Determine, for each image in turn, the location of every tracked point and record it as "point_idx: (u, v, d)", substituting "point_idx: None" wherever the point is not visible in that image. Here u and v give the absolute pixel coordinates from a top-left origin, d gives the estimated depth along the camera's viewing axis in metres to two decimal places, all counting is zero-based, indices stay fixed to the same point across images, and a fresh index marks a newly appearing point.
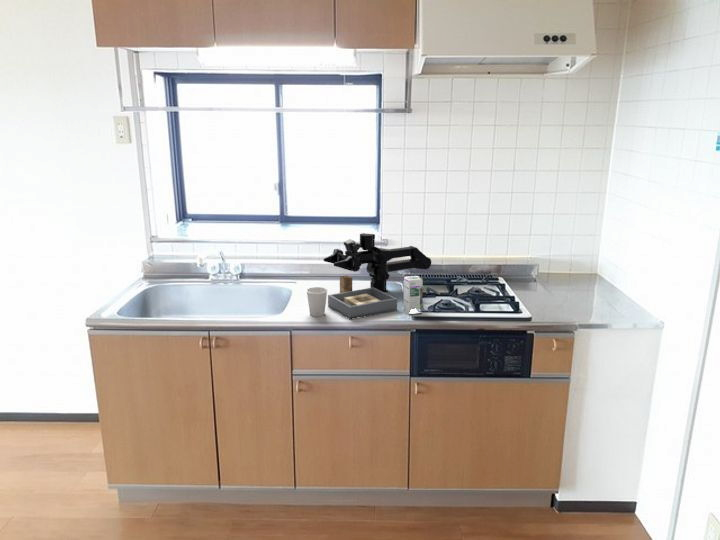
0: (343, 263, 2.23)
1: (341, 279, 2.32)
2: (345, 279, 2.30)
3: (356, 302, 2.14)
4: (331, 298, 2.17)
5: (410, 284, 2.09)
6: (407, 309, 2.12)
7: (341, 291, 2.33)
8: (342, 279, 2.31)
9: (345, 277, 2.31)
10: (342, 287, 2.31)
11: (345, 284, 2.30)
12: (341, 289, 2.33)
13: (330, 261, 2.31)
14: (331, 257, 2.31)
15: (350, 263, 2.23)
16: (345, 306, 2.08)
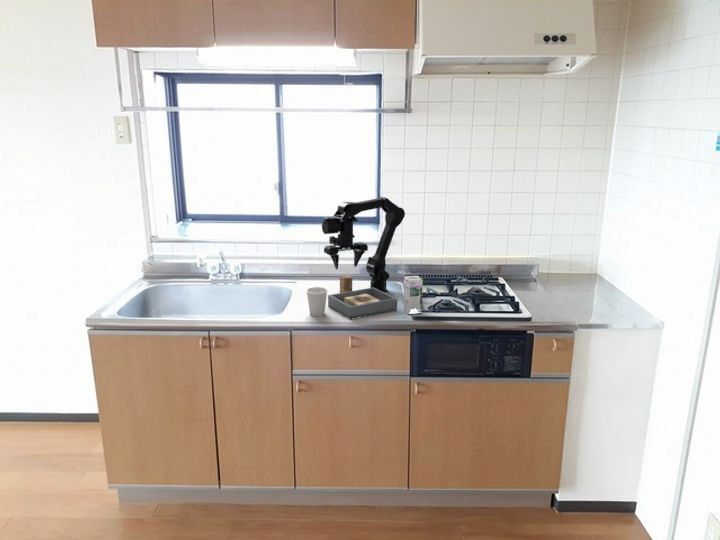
0: (333, 260, 2.27)
1: (341, 279, 2.32)
2: (345, 279, 2.30)
3: (356, 302, 2.14)
4: (331, 298, 2.17)
5: (410, 284, 2.09)
6: (407, 309, 2.12)
7: (341, 291, 2.33)
8: (342, 279, 2.31)
9: (345, 277, 2.31)
10: (342, 287, 2.31)
11: (345, 284, 2.30)
12: (341, 289, 2.33)
13: (356, 259, 2.31)
14: (354, 257, 2.33)
15: None
16: (345, 306, 2.08)
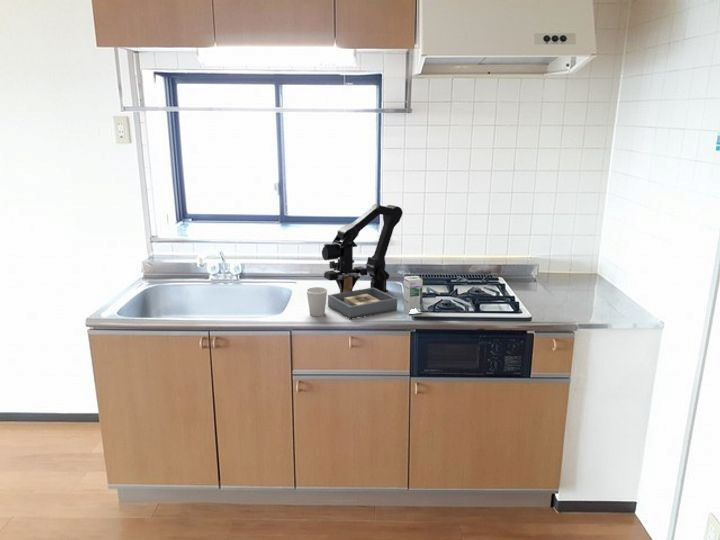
0: (338, 284, 2.31)
1: None
2: (345, 279, 2.30)
3: (356, 302, 2.14)
4: (331, 298, 2.17)
5: (410, 284, 2.09)
6: (407, 309, 2.12)
7: None
8: None
9: (345, 277, 2.31)
10: None
11: (345, 284, 2.30)
12: None
13: None
14: None
15: None
16: (345, 306, 2.08)
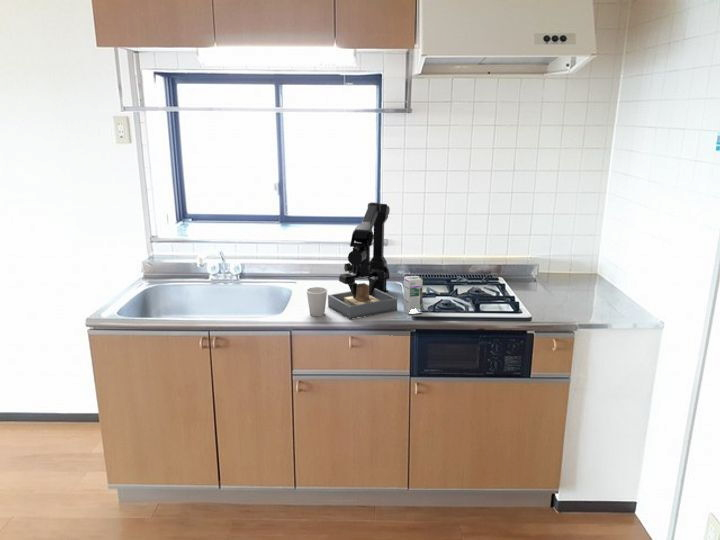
0: (351, 289, 2.15)
1: (357, 287, 2.17)
2: (362, 287, 2.14)
3: (356, 302, 2.14)
4: (331, 298, 2.17)
5: (410, 284, 2.09)
6: (407, 309, 2.12)
7: (357, 300, 2.18)
8: (358, 287, 2.15)
9: (361, 285, 2.16)
10: (359, 295, 2.16)
11: (361, 292, 2.15)
12: (357, 298, 2.17)
13: (371, 288, 2.18)
14: (369, 286, 2.19)
15: None
16: (345, 306, 2.08)
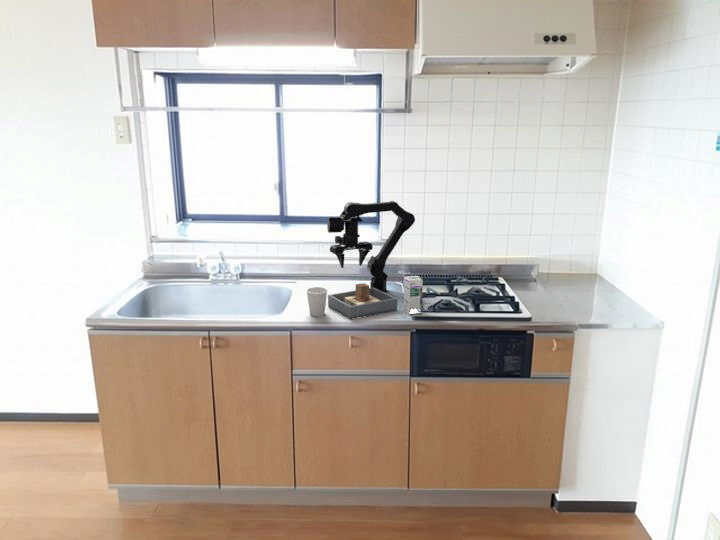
0: (339, 259, 2.33)
1: (357, 287, 2.17)
2: (362, 287, 2.14)
3: (356, 302, 2.14)
4: (331, 298, 2.17)
5: (410, 284, 2.09)
6: (407, 309, 2.12)
7: (357, 300, 2.18)
8: (358, 287, 2.15)
9: (361, 285, 2.16)
10: (359, 295, 2.16)
11: (361, 292, 2.15)
12: (357, 298, 2.17)
13: (361, 258, 2.37)
14: (359, 256, 2.39)
15: None
16: (345, 306, 2.08)
